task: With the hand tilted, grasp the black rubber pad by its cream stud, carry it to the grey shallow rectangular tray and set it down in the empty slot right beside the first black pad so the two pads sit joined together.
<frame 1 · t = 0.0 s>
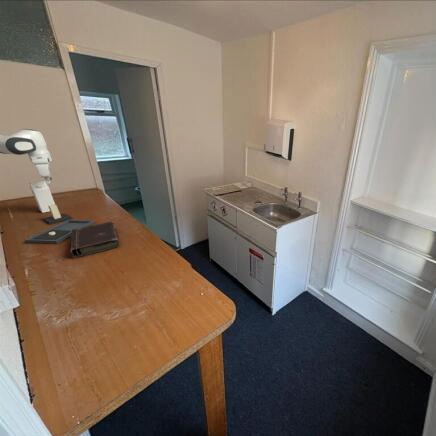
hand: (49, 181, 141), 21 cm above the table, tool pointing down, fingers open, 8 cm apart
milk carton: (48, 210, 153), on the table
grey shallow rectangular tray: (63, 232, 127), on the table
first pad: (53, 236, 121), resting on grey shallow rectangular tray
loose pad: (57, 219, 141), on the table
diary: (97, 242, 119), on the table
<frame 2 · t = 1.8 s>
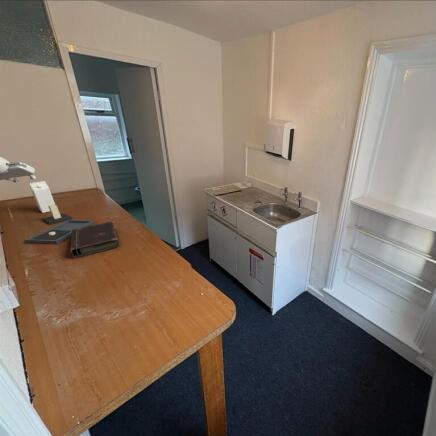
hand: (25, 179, 131), 24 cm above the table, tool tilted 45°, fingers open, 8 cm apart
nothing on the table moved.
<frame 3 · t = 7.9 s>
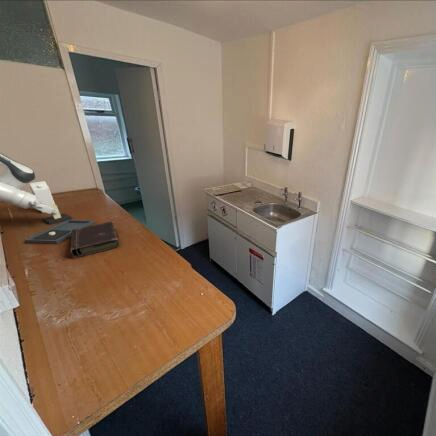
hand: (56, 211, 140), 5 cm above the table, tool tilted 45°, fingers closed on loose pad, 3 cm apart
loose pad: (57, 219, 141), on the table, touching gripper
everything else where it was.
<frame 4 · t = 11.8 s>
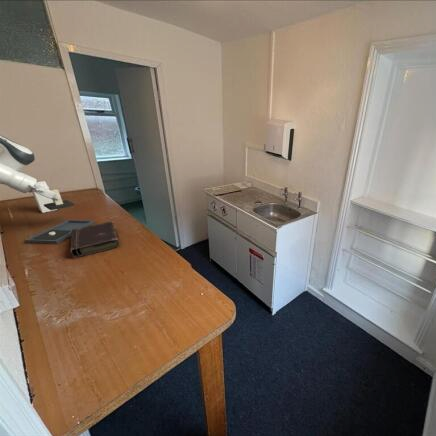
hand: (57, 197, 130), 16 cm above the table, tool tilted 45°, fingers closed on loose pad, 3 cm apart
loose pad: (59, 205, 131), point 12 cm above the table, touching gripper
everything else where it was.
when the fingers open (6 cm above the table, at t = 15.7 s): loose pad stays where it is, resting on grey shallow rectangular tray, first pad.
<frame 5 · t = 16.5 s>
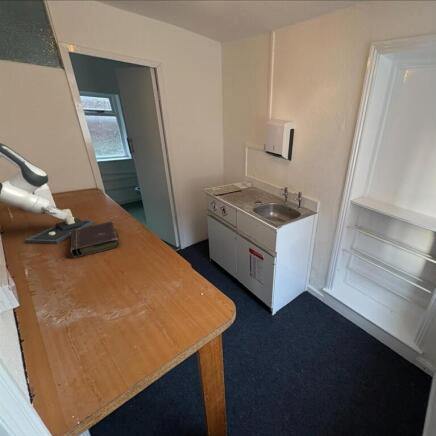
hand: (69, 217, 130), 6 cm above the table, tool tilted 45°, fingers open, 8 cm apart
loose pad: (71, 225, 132), point 2 cm above the table, touching grey shallow rectangular tray, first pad
everything else where it was.
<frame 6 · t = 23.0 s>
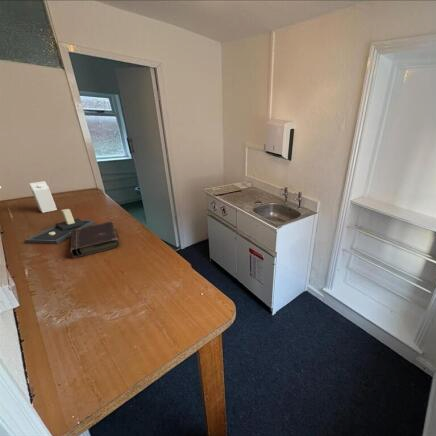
nothing on the table moved.
at the end: loose pad 0.1 cm from the target spot in the grey shallow rectangular tray, point 1.7 cm above the grey shallow rectangular tray's base; loose pad tilted 0°; the gripper is holding nothing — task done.
